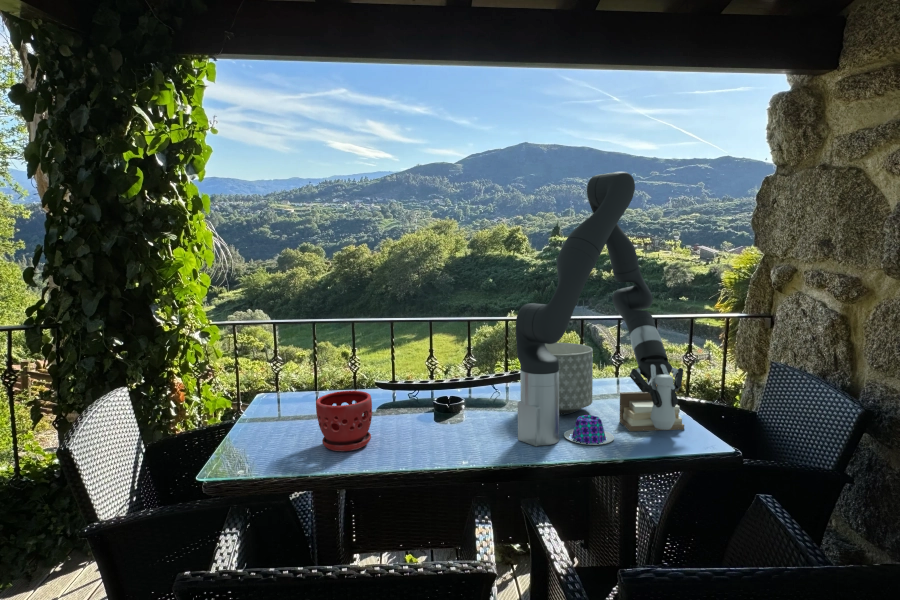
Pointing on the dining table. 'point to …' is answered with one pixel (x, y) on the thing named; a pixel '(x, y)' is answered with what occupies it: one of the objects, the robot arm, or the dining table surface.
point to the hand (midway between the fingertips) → (666, 405)
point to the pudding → (589, 431)
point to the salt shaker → (663, 403)
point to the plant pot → (345, 419)
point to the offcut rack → (642, 412)
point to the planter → (573, 375)
